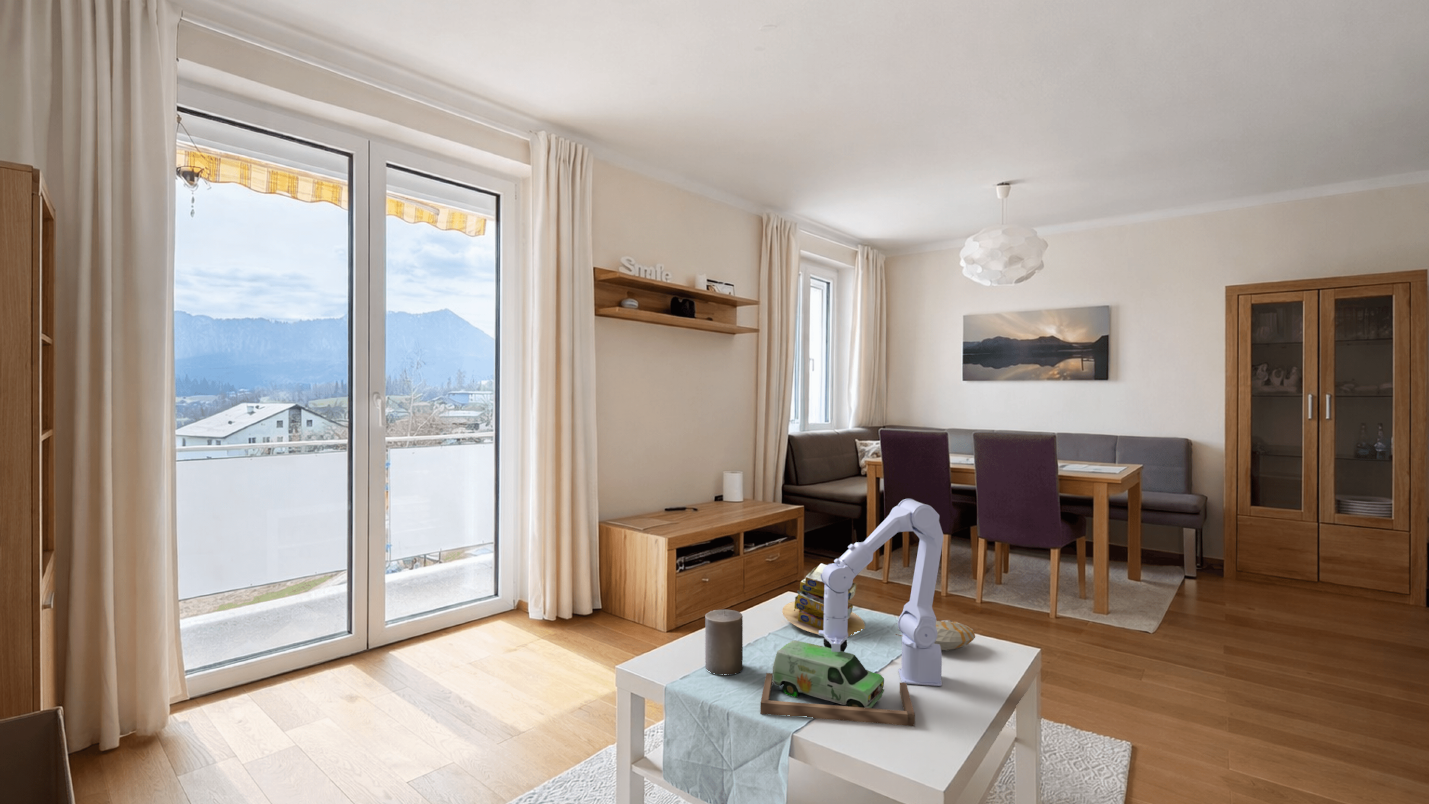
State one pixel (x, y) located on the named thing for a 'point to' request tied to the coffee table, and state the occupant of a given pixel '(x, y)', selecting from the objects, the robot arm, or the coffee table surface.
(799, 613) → the stacked boxes on plate
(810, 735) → the coffee table surface
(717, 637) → the pillar candle
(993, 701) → the coffee table surface
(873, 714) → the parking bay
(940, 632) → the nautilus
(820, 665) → the toy car
